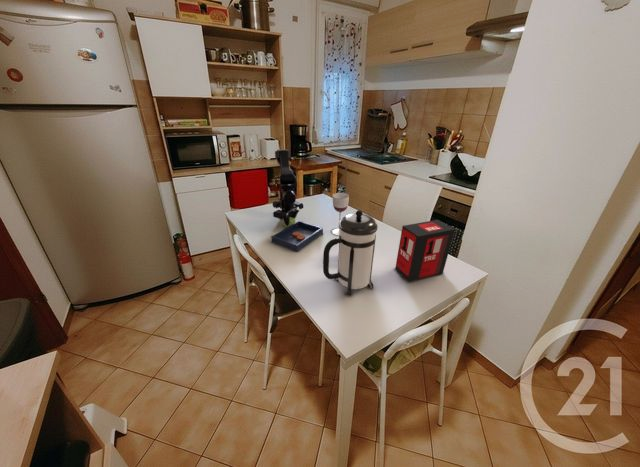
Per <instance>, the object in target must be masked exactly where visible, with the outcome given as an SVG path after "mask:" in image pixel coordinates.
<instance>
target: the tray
mask: <svg viewBox="0 0 640 467" xmlns="http://www.w3.org/2000/svg"><path fill="white" fill-rule="evenodd" d="M293 232H300V235H304V236H305V239H304V240H302V241H300V240H297V237H293V236H292V233H293ZM323 234H324V227H321V226H318V225H314V224H312V223H308V222H305V221H301V220H297V221H295V223H294V224H292V225H290V226H289V227H285V228H284V229H282V230H280V231H278V232H276V233H275V234H272V235H271V243H273V244H275V245H278V246H280V247H282V248H283V247H284V248H286V249H288V250H291V251H294V252H296V253H297V252H299V251H301V250H302V249H303V248H305V247H306V246H307V245H309V244H311V243H312V242H314V241H315V240H316V239H317V238H319V237H320V236H321V235H323Z"/></svg>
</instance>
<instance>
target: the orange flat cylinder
mask: <svg viewBox="0 0 640 467" xmlns="http://www.w3.org/2000/svg"><path fill="white" fill-rule="evenodd" d="M298 235H300V232H293V233H292V236H293V237H297V236H298Z"/></svg>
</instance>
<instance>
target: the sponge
mask: <svg viewBox="0 0 640 467" xmlns="http://www.w3.org/2000/svg"><path fill="white" fill-rule="evenodd" d="M282 221H283V227H285V228H287V227H289V226H290V225H292V224H294V223H296V218H292V217H290V219H289V224H288V226H286V224H285V222H284V220H283V219H282Z"/></svg>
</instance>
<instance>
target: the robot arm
mask: <svg viewBox="0 0 640 467" xmlns="http://www.w3.org/2000/svg"><path fill="white" fill-rule="evenodd" d="M274 156H275V159H276V163H277V164H278V166H279V169H280V171H279V172H280V173H279V174H280V175H278V176H279V177H278V179H279V186H280V190H281V192H280V194H279V198H278V200H274V201H272V207H273V208H275V209H277V210H275V211H273V212H272V216H273V218H275V219H279V220H282V221H283V220H284V221H283V223H284V222H285V224H286V226H288V224H289V219H290V217H292V218H295V219H296V218H297V216H298V213H299V212H300V210H302V209H304V204H303V202H300V201H297V196H296V194H295V191H294V189H297V186H298V183H297V177H296V175H295V174H294V171H293V170H292V168H291V167H290V159H291V150H289V149H276V150H275V151H274Z"/></svg>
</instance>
